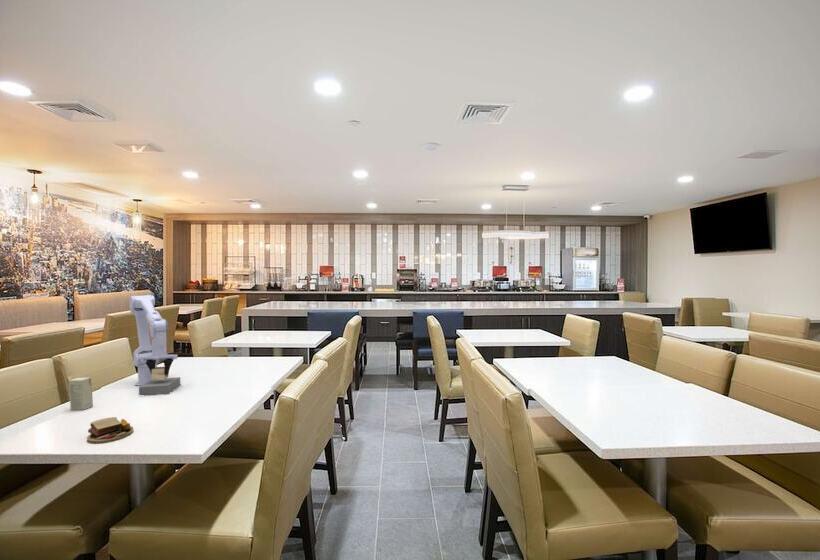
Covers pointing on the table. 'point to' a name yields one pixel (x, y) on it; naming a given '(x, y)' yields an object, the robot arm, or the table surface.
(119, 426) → the toy sandwich meal
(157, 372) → the birch cube
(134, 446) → the table surface
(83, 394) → the skincare box
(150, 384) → the flat grey base plate
